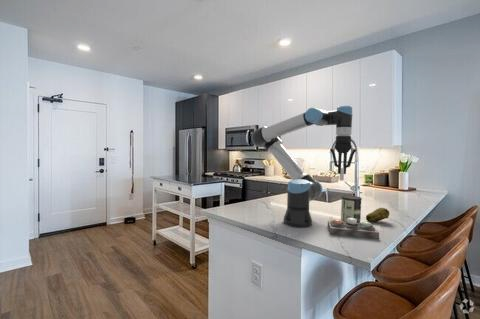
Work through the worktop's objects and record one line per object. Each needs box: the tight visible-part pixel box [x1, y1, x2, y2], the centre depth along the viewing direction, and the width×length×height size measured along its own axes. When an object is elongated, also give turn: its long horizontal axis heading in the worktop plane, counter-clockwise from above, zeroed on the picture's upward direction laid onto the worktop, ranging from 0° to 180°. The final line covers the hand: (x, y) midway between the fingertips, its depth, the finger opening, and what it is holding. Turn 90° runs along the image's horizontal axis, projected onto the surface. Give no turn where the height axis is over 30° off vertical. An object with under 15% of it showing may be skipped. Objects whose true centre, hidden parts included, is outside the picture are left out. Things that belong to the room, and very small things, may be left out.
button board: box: [327, 219, 380, 240], centre depth 118 cm, size 21×12×4 cm, turn 76°
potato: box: [365, 207, 390, 223], centre depth 136 cm, size 8×13×8 cm, turn 81°
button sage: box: [361, 221, 372, 227], centre depth 116 cm, size 4×4×2 cm
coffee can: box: [340, 194, 363, 223], centre depth 135 cm, size 10×10×14 cm
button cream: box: [347, 218, 357, 224], centre depth 117 cm, size 4×4×2 cm
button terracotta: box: [333, 218, 342, 224], centre depth 119 cm, size 4×4×2 cm
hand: (341, 180), depth 127 cm, fingers closed
